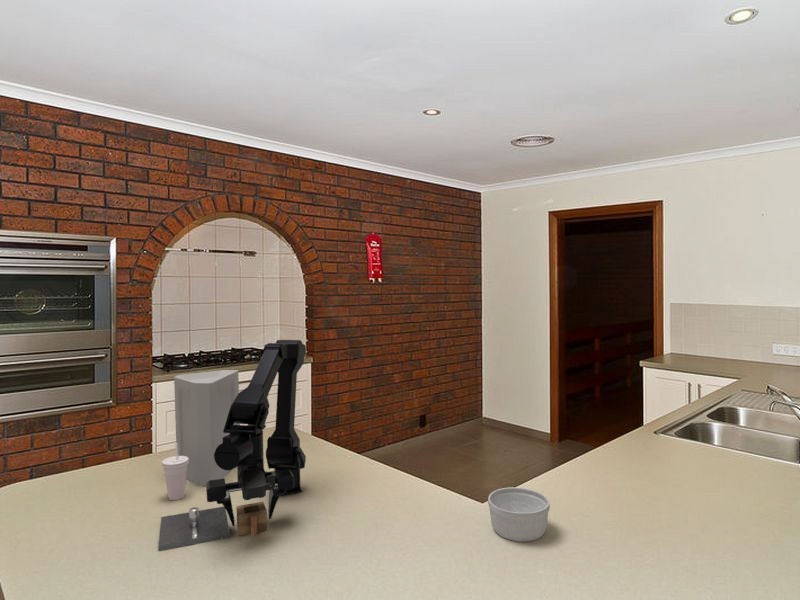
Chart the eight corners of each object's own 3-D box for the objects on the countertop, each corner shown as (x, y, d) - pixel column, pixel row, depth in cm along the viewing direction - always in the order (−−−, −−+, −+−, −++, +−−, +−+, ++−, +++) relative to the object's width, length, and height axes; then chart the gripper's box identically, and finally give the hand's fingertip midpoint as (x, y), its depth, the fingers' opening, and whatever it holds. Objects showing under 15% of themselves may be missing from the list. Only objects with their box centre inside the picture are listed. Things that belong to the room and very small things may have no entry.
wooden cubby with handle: (263, 518, 121) (263, 501, 121) (268, 532, 114) (267, 514, 114) (236, 523, 119) (236, 506, 118) (239, 537, 112) (239, 519, 112)
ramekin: (514, 551, 106) (514, 518, 105) (475, 524, 117) (475, 494, 117) (562, 536, 112) (562, 504, 111) (521, 511, 123) (521, 482, 123)
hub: (225, 510, 125) (224, 492, 125) (229, 537, 112) (229, 516, 112) (161, 521, 120) (160, 502, 120) (158, 550, 107) (157, 529, 107)
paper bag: (194, 460, 160) (192, 369, 158) (241, 461, 159) (239, 370, 157) (161, 485, 141) (157, 382, 139) (214, 486, 140) (211, 383, 138)
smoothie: (180, 503, 129) (178, 448, 129) (157, 501, 131) (155, 446, 130) (195, 492, 136) (193, 439, 135) (173, 490, 137) (171, 438, 136)
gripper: (207, 472, 105) (209, 547, 106) (299, 459, 112) (300, 529, 113) (205, 455, 116) (207, 523, 116) (289, 444, 123) (290, 508, 123)
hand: (251, 521), depth 117 cm, fingers open, 8 cm apart
